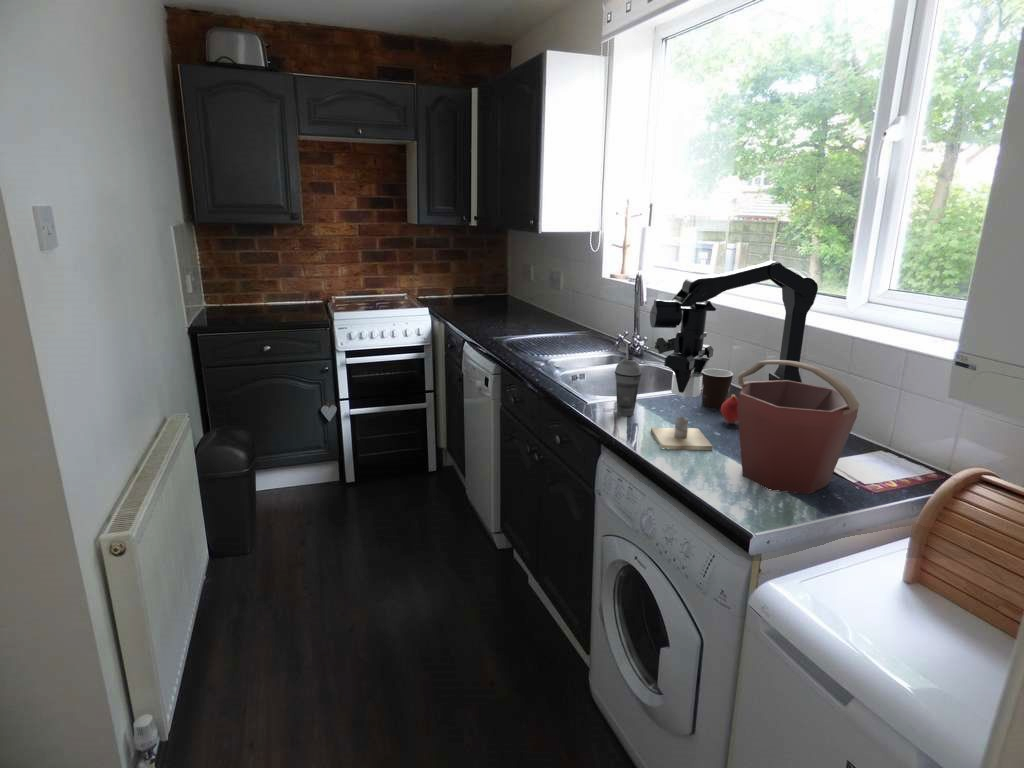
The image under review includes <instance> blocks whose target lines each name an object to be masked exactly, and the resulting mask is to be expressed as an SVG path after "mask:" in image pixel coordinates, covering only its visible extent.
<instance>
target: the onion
mask: <svg viewBox="0 0 1024 768" xmlns="http://www.w3.org/2000/svg"><path fill="white" fill-rule="evenodd" d="M737 405H738V398H737V396H736V394H731V397H728V398H727V400H726V401H725V402H724V403H723V404H722V406H721V409H720V414H721V417H723V418H724V420H725V421H727V423H728V424H731V425H732V424H733V423H736V422H738V410H737Z"/></svg>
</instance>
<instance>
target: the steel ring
mask: <svg viewBox="0 0 1024 768" xmlns="http://www.w3.org/2000/svg"><path fill="white" fill-rule="evenodd" d="M671 377H672V379H671V390H670V392H671V394H673V395H675V396H678V397H684V398H694V397H697V398H698V397H699V396H700V395H701V396H702V378H703V375H702V372H701V373H699V372H695V371H693V374H692V376H691V378H690V380H689V382H688V384H687V386H686V388H685V390H684V392H683V393H681V392H679V390H678V385H677V381H676V376H675V373H674V371H672V376H671Z"/></svg>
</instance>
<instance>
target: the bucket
mask: <svg viewBox="0 0 1024 768" xmlns="http://www.w3.org/2000/svg"><path fill="white" fill-rule="evenodd" d="M779 364H780V365H790V366H794V367H799V369H802V370H804V371H805V370H806V371H808V372H811V373H812V374H813V375H816V376H818V377H819V378H821V380H823V381H825V382H826V383H828V384H829V385H830V386H832V388H831V387H827V386H822V385H816V384H811V383H805V382H802V383H800V382H795V381H789V380H775V381H769V380H754V381H746V380H745V379H744V378H746V377H748V376H751V375H753V374H755V373H756V372H757V373H758V372H759V371H760V370H761V369H762V368H764V367H765V366H766V365H767V366H768V365H779ZM737 379H738V380H737V381H738V382H737V383H738V385H739V386H740V387H741V389H740V391H739V393H738V396H737V397H738V398H737V399H738V405H737V410H738V421H737V422H738V433H739V444H740V446H739V447H740V456H741V459H740V460H741V468H742V469H741V470H742V476H743V477H745V478H747V479H748V480H750V481H752V482H754V483H755V482H756V484H757V483H758V484H757V485H759V484H760V486H761V485H762V486H761V487H763V486H764V487H763V488H765V487H766V488H765V489H767V488H768V489H771V490H770V491H773V490H779V491H778V492H782V491H788V492H787V493H790V492H796V493H795V494H798V493H805V494H804V495H807V494H809V495H811V494H813V493H815V492H817V491H819V490H822V489H823V488H825V487H828V485H829V484H830V483H829V482H830V480H831V478H832V476H833V474H834V471H835V469H836V467H837V465H838V462H839V460H840V457H841V455H842V453H843V450H844V448H845V445H846V443H847V441H848V439H849V436H850V434H851V431H852V429H853V427H854V424H855V422H856V420H857V417H858V411H859V408H860V407H859V406H860V402H858V401H857V400H858V399H856V396H855V395H854V393H853V392H852V390H851V389H850V388H849V387H848V386H847V385H846V384H844V383H843V382H842V381H841V380H840V379H838V378H837V377H836V376H834V375H833V374H831V373H830V372H828V371H826V370H824V368H822V367H819V366H816V365H812V364H809V363H805V362H802V361H800V362H797V361H788V360H780V359H769V360H765V359H764V360H759V361H757V362H756V363H755V364H754V365H752V366H751V367H750V368H748V369H746V370H745V371H741V372H740V373H739V374H738V378H737ZM768 489H767V490H768ZM818 489H819V490H818ZM816 490H817V491H816ZM814 491H815V492H814ZM810 493H811V494H810Z"/></svg>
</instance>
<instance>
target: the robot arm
mask: <svg viewBox="0 0 1024 768" xmlns="http://www.w3.org/2000/svg"><path fill="white" fill-rule="evenodd" d="M768 280H770V281H771V282H772V283H773V284H775V285H777V286H778V287H779V288H781V295H782V297H781V298H782V302H783V307H784V311H785V316H784V324H783V330H782V331H783V332H782V338H781V345H780V346H781V347H780V354H779V360H788V361H797V362H801V357H802V349H803V344H804V343H803V342H804V335H805V330H806V329H805V328H806V323H807V322H806V321H807V315H808V313H809V311H810V310H811V308H812V307H813V305H814V304H815V302H816V301H815V300H816V298H817V296H818V295H817V294H818V291H819V286H818V283H817V282H816V281H815V280H814V279H813V278H811V277H808V276H805V275H804V276H803V275H800V274H798V273H797V272H794V271H793V270H791V269H789V268H788V267H785V266H784V265H783V264H782V263H781V262H777V261H774V260H767V261H765V262H762V263H759V264H755V265H750V266H747V267H743V268H739V269H735V270H731V271H726V272H723V273H720V274H719V273H717V274H698V275H697V274H696V275H690V276H688V277H686V278H685V280H684V281H683V283H682V286H681V288H680V290H679V291H678V292H677V293H676V294H675V296H674V297H673V298H672V300H665V299H664V300H662V299H654V300H653V304H652V306H651V310H650V312H649V323H650V324H649V325H650V327H651V328H653V329H654V328H656V329H657V328H659V329H662V328H664V329H670V328H671V329H672V328H673V329H676V328H677V327H678V326H680V331H677V332H676V335H674V336H671V337H667V336H663V337H658V338H657V339H656V341H655V345H654V349H656V350H657V352H658V354H659V355H661V354H664V353H667V352H672V351H673V352H672V353H670V354H668V356H666V357H664V362H663V363H664V365H663V366H664V367H668V369H671V370H672V372H674V373H675V376H676V381H677V385H678V390H679V392H681V393H683V392H684V390H685V388H686V386H687V384H688V382H689V380H690V378H691V376H692V374H693V371H695V372H699V373H701V374H702V371H703V370H704V369H705V367H706V366H707V364H708V363H709V362H710V358H713V357H714V351H715V350H714V348H713V347H712V345H710V344H704V340H705V339H704V338H705V337H707V335H708V332H707V331H706V322H707V312H716V311H717V308H716V307H715V306H714V305H713V304H712V301H711V299H713V298H716V297H718V296H719V295H720V294H722V293H724V292H726V291H729V290H733V289H737V288H741V287H746V286H750V285H753V284H757V283H758V284H759V283H762V282H765V281H768ZM680 324H681V325H680ZM705 356H706V357H705ZM775 380H789V381H795V382H800V383H803V381H802V378H801V373H800V368H799V367H794V366H790V365H780V364H778V366H777V368H776V370H775V372H768V381H775Z"/></svg>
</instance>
